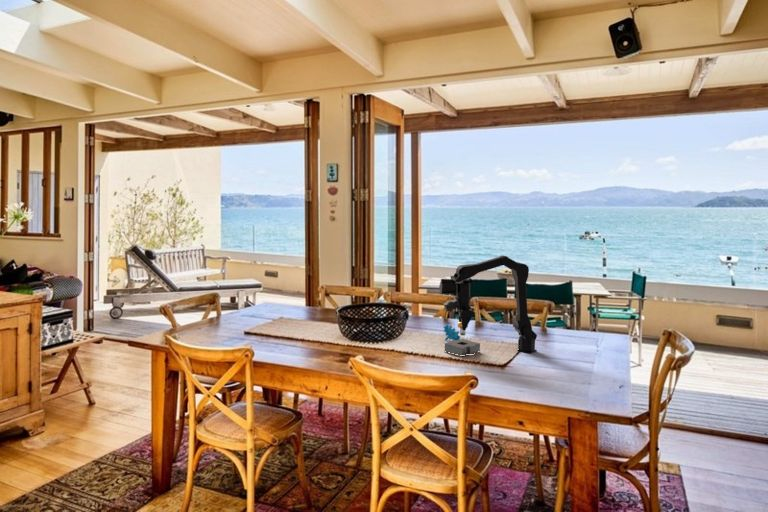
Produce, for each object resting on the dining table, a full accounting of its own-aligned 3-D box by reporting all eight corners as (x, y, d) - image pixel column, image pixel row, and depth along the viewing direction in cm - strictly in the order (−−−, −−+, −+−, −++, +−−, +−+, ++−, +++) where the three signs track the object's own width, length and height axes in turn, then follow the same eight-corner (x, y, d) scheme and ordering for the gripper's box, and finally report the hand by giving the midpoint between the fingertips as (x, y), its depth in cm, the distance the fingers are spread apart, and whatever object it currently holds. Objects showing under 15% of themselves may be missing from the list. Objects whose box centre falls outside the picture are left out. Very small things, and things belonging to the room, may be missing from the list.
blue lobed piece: (453, 341, 229) (442, 324, 234) (444, 349, 232) (434, 331, 237) (465, 340, 237) (454, 323, 242) (457, 347, 240) (447, 330, 245)
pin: (469, 334, 216) (469, 322, 216) (463, 336, 214) (463, 323, 213) (462, 333, 220) (462, 320, 219) (455, 334, 217) (455, 322, 217)
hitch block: (481, 352, 217) (481, 343, 216) (463, 357, 209) (463, 348, 209) (460, 347, 226) (461, 338, 226) (442, 351, 218) (443, 342, 218)
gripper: (441, 290, 224) (441, 324, 225) (449, 297, 205) (448, 334, 207) (465, 290, 225) (465, 324, 226) (475, 297, 206) (474, 334, 207)
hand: (462, 329), depth 217 cm, fingers closed on pin, 4 cm apart
